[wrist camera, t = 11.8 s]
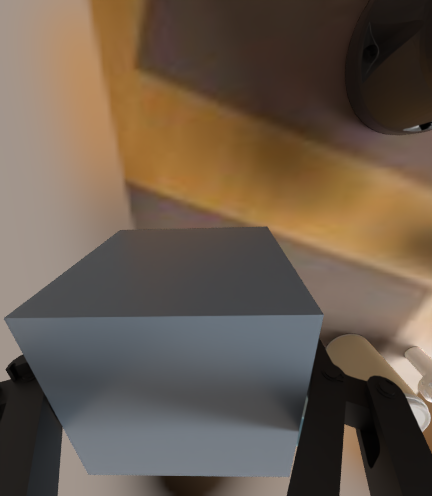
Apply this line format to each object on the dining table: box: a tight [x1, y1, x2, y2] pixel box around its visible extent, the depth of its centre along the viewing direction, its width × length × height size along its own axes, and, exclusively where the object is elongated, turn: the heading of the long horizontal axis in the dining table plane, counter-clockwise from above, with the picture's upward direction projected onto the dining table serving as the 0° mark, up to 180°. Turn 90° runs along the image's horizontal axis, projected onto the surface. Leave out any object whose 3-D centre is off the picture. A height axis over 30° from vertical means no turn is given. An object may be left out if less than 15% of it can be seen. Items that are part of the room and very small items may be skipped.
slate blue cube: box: [4, 227, 324, 477], centre depth 13 cm, size 10×10×9 cm
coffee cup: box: [326, 334, 430, 431], centre depth 34 cm, size 9×9×12 cm
